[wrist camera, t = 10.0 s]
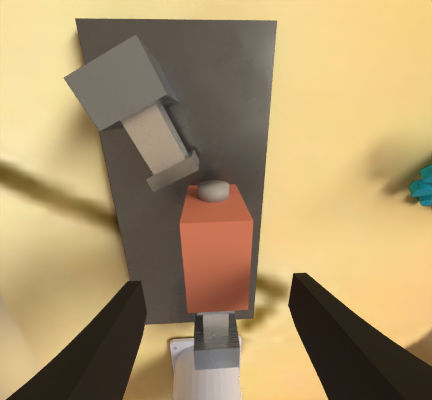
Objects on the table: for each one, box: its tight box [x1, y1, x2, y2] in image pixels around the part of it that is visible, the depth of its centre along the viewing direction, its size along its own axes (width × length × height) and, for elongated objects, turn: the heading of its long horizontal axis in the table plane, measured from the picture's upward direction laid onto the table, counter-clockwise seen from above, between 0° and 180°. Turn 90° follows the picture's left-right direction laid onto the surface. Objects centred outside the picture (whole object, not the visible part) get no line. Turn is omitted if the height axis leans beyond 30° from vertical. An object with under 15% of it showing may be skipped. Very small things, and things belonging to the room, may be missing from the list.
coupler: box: [180, 180, 253, 313], centre depth 14 cm, size 8×4×6 cm, turn 1°
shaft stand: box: [64, 19, 277, 370], centre depth 15 cm, size 24×12×6 cm, turn 1°
